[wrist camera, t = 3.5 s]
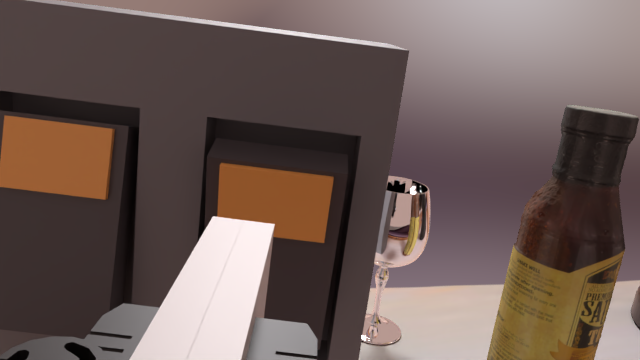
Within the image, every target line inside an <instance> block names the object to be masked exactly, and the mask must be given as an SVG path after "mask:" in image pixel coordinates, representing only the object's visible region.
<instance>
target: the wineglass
mask: <svg viewBox="0 0 640 360" xmlns="http://www.w3.org/2000/svg"><path fill="white" fill-rule="evenodd" d="M429 230H430V196H429V189H428V187H427V186H425V185H423V184H422V183H419V182H417V181H413V180H410V179H406V178H401V177H395V176H388V182H387V188H386V194H385V200H384V206H383V212H382V218H381V224H380V231H379V237H378V243H377V249H376V255H375V261H374V264H376V265H379V266H380V268H379V269H378V270H377V272H376V276H375V282H376V297H375V303H374V308H373V311H372V313H371V314H366V316H365V322H364V328H363V334H362V340H361V341H363V342H366V343H370V344H377V345H385V344H391V343H394V342H396V341H397V340H399V339H400V337H401V330H400V328H399V327H398V326H397V325H396V324H395V323H394V322H392V321H391V320H389V319H387V318H384V317H382V316H380V315H379V309H380V302H381V297H382V292H383V290H384V287H385V285H386V283H387V280H388V274H389V273H388V270H387V267H399V266H404V265H407V264H410V263H412V262H413V261H415V260H416V259H417V258H418V257H419V256H420V255H421V253H422V252H423V250H424V248H425V246H426V243H427V240H428V236H429Z"/></svg>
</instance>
